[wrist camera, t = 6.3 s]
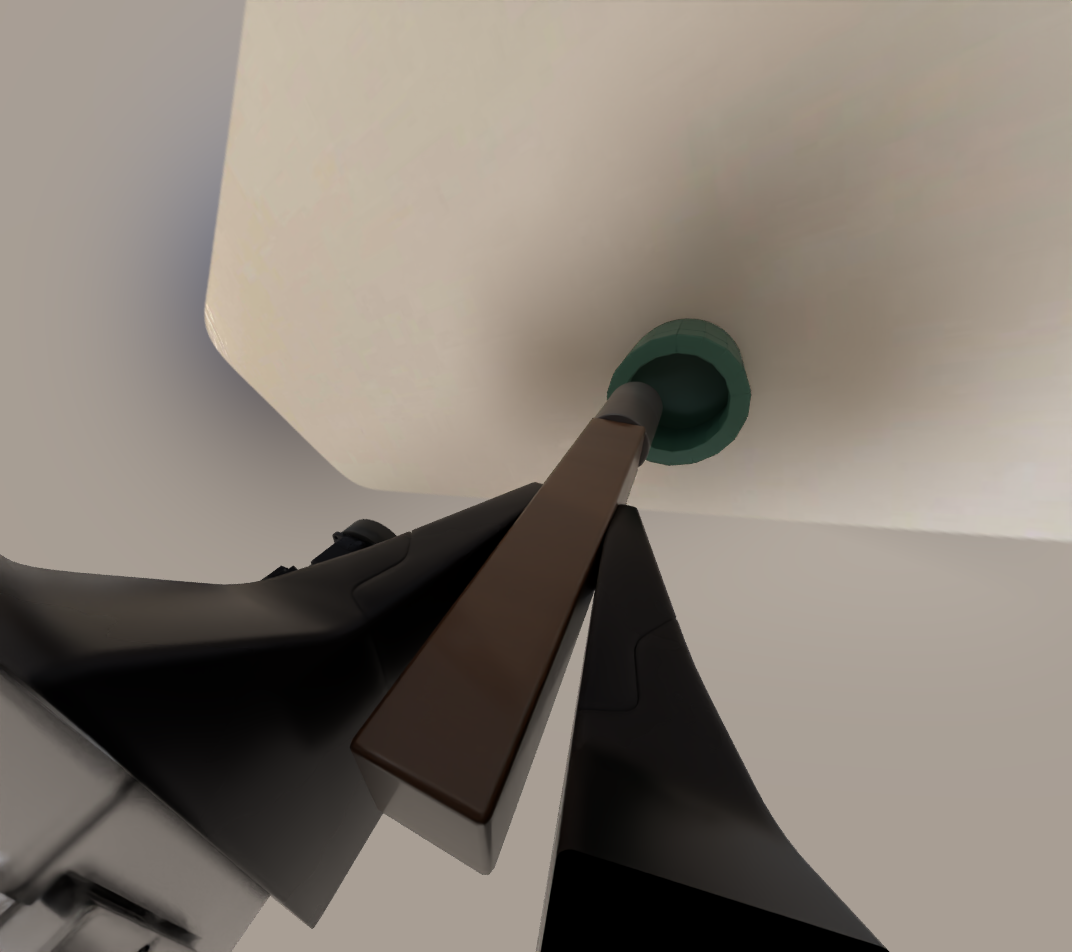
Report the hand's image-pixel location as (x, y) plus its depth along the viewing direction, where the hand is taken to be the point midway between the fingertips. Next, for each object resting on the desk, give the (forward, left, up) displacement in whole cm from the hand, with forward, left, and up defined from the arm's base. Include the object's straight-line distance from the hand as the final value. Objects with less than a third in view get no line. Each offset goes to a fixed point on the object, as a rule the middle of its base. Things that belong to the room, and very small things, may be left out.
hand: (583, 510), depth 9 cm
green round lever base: (0, -1, -13) cm, 13 cm away
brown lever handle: (0, 0, -7) cm, 7 cm away
